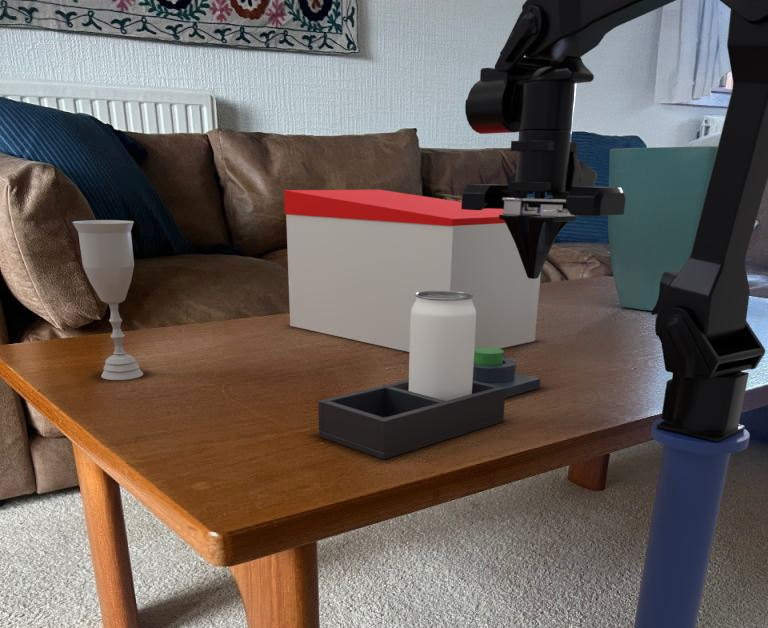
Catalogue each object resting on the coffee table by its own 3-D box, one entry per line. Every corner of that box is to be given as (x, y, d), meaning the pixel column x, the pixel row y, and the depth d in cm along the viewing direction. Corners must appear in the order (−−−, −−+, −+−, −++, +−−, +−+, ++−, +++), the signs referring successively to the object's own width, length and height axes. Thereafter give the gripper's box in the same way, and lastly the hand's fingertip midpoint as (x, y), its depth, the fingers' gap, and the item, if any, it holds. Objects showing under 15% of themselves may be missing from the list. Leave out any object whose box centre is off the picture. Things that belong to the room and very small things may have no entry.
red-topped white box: (377, 312, 143) (378, 189, 135) (534, 340, 121) (547, 195, 112) (288, 325, 130) (283, 190, 122) (446, 360, 107) (453, 196, 99)
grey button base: (539, 388, 94) (542, 363, 93) (498, 400, 89) (500, 374, 88) (475, 373, 101) (476, 350, 99) (433, 383, 95) (434, 359, 94)
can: (432, 426, 77) (437, 301, 72) (395, 410, 82) (397, 292, 77) (483, 416, 80) (491, 296, 75) (444, 401, 85) (449, 288, 80)
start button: (508, 365, 94) (510, 350, 93) (490, 369, 91) (491, 355, 91) (485, 360, 96) (486, 346, 95) (466, 364, 94) (467, 350, 93)
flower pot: (589, 307, 152) (607, 147, 141) (643, 297, 164) (664, 149, 153) (685, 320, 139) (714, 145, 127) (736, 309, 151) (766, 148, 140)
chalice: (91, 370, 99) (70, 220, 92) (146, 366, 102) (130, 219, 95) (96, 384, 93) (74, 224, 86) (154, 379, 96) (137, 223, 89)
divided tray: (503, 421, 81) (505, 387, 80) (383, 459, 70) (384, 421, 69) (438, 403, 87) (439, 372, 86) (318, 436, 76) (317, 400, 75)
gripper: (659, 132, 85) (639, 280, 91) (518, 136, 97) (509, 266, 103) (606, 127, 78) (588, 288, 84) (461, 132, 90) (455, 273, 96)
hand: (532, 278), depth 92 cm, fingers closed
